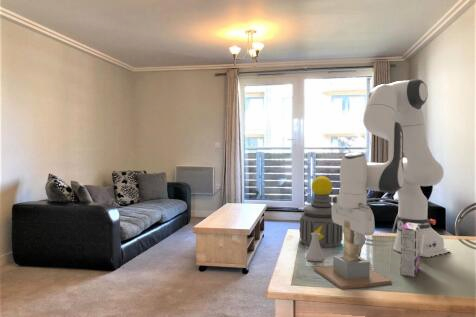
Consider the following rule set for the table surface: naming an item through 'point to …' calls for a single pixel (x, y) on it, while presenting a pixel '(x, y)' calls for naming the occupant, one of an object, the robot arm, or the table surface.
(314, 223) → the decorative lamp
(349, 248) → the wooden block
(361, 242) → the lightbulb
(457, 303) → the table surface
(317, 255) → the flask
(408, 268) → the candy bar box
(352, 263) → the square peg socket base
